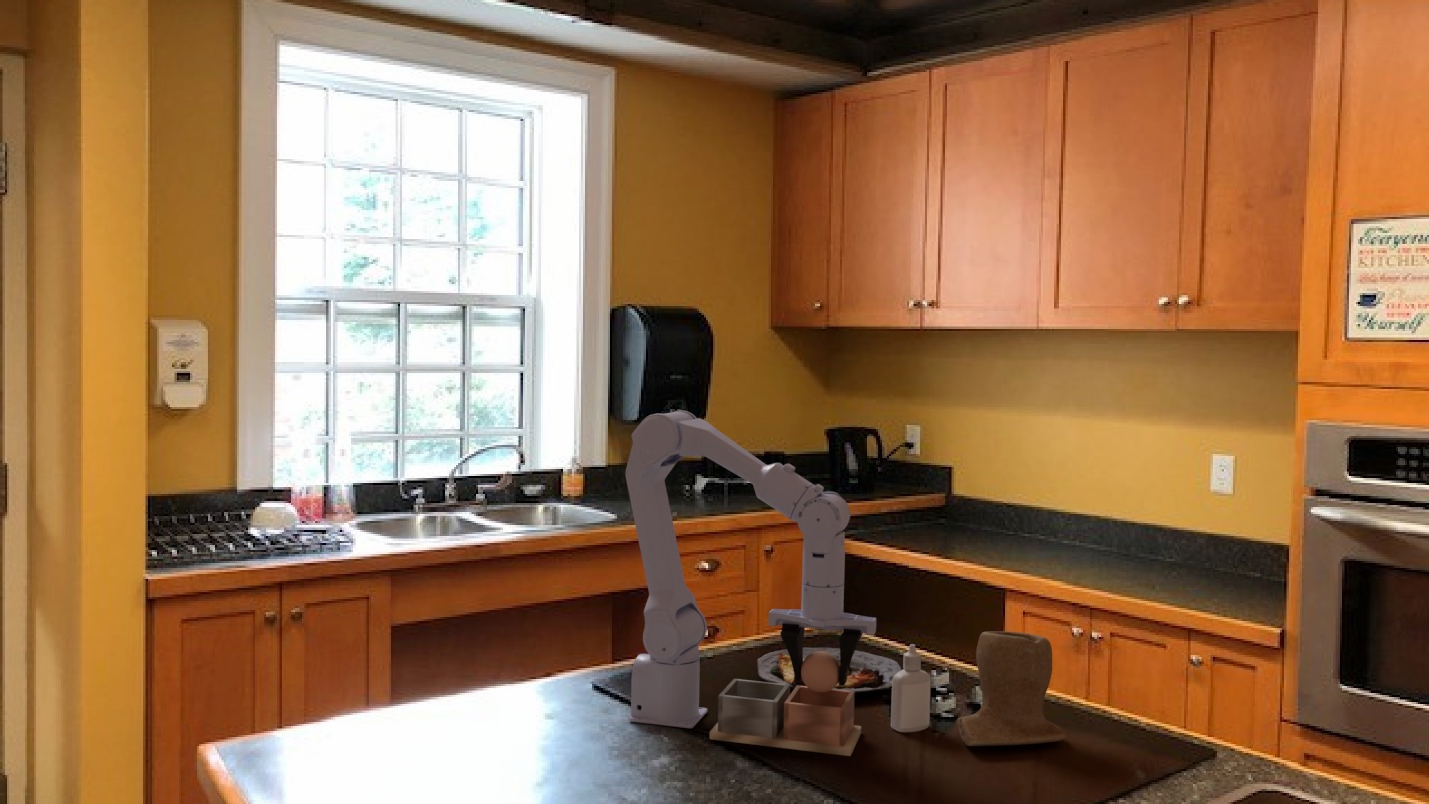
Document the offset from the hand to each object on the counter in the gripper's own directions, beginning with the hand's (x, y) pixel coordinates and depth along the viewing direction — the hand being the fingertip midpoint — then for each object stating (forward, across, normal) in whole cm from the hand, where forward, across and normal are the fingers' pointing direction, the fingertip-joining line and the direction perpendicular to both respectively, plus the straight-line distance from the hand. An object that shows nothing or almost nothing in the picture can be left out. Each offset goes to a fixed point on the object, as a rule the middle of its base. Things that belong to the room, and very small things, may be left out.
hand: (820, 681), depth 157 cm
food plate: (+9, -4, +28) cm, 30 cm away
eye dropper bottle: (+8, +11, +9) cm, 17 cm away
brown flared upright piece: (+8, +24, +9) cm, 27 cm away
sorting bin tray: (+8, -5, 0) cm, 9 cm away
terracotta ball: (-1, 0, 0) cm, 1 cm away
